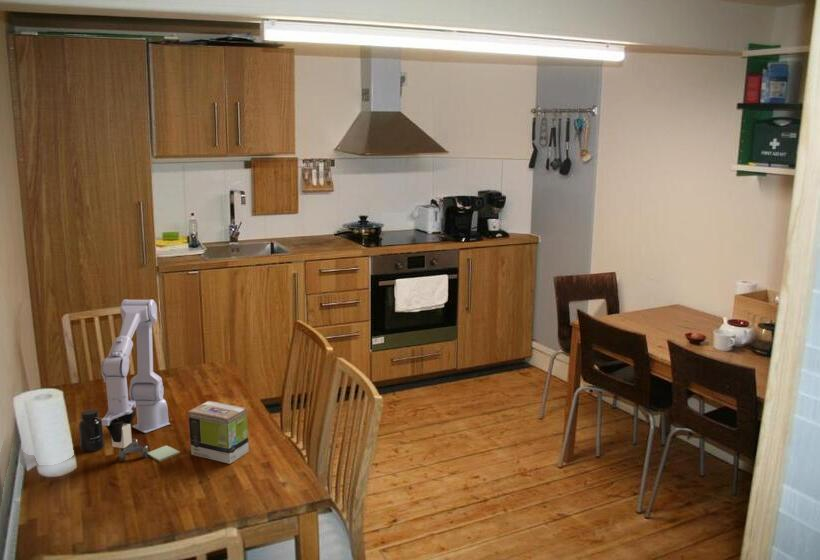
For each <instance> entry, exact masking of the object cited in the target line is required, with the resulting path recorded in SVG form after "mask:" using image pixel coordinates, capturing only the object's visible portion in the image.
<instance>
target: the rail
mask: <svg viewBox="0 0 820 560" xmlns="http://www.w3.org/2000/svg"><path fill="white" fill-rule="evenodd" d="M138 441H139V440H138V438H132V443H130V444H129V445H128V446H126V447H125V448H119V449H118V457H119V458H118V459H119V462H125V461H127V459H126V457H127V456H126V454H131V453H132V454H133V453H140V452H141V455H142V456H141V457H142V458H143V459H148V458H149V457H150V456H149V454H148V452H149V445H148V444H147V445H146V444H144V445H139V442H138Z"/></svg>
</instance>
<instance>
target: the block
mask: <svg viewBox="0 0 820 560" xmlns="http://www.w3.org/2000/svg"><path fill="white" fill-rule="evenodd" d="M110 436H111V435H110ZM132 439H133V437H132V424H131V425H130V424H126V423H123V425H122V430H121V442H114V441H113V439H112V436H111V444H112V445H111V447H112V448H119V449H120V448H125V447H126V446H128V445H129V444H130V443H132Z"/></svg>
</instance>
